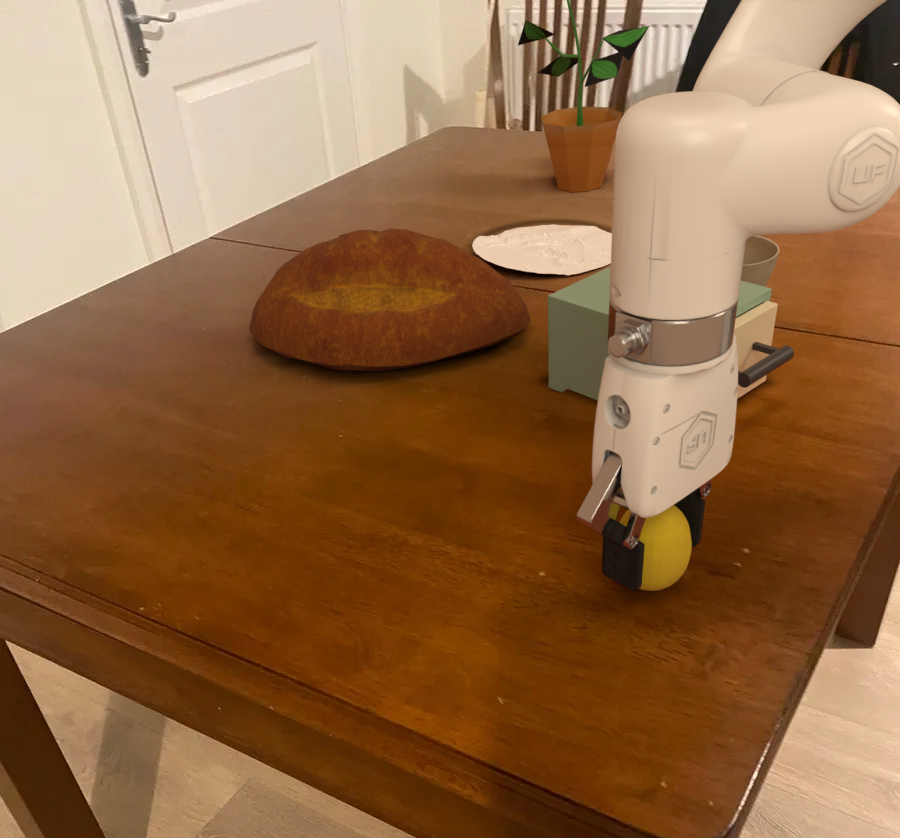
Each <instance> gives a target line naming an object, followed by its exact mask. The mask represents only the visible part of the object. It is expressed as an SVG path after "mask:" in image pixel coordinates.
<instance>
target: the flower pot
mask: <svg viewBox="0 0 900 838" xmlns="http://www.w3.org/2000/svg"><path fill="white" fill-rule="evenodd" d="M779 255H780V247H779V245H778V243H776V242H775V241H774V240H772V239H769V238H767V237H765V236H763V235H755V236H751V237H750V238H748V239H747V240H746V244H745V252H744V260H743V267H742V275H741V281H745V282H749V283H752V284H756V285H760V286H764V287H767V285H768V283H769V282H770V279H771V277H772V274H773V272H774V270H775V267H776V264H777V261H778V258H779Z"/></svg>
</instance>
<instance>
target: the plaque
mask: <svg viewBox="0 0 900 838" xmlns="http://www.w3.org/2000/svg"><path fill="white" fill-rule="evenodd" d="M611 240H612V232H609V231H606V230H604V229H601V228H599V227H597V226H595V225H580V224H579V225H577V224H576V225H570V224H569V225H568V224H567V225H566V224H555V223H553V224H541V225H533V226H523V227H515V228H512V229H511V228H510V229H507V230H503V232H501V233H498V234H495V235H494V234H491V235H487V236H486V235H478V236H477V237H476V238H474V239H473V241H472V249H473V251H474V253H475V254H476V255H478V256H479V257H480V259H481V258H482V260H485V261H487V262H489V263H492V264H494V265H496V266H499V267H503V268H505V269H509V270H510V269H511V270H516V271H521V272H525V273H535V274H540V275H541V274H543V275H549V274H550V275H558V276H559V275H564V276H568V277H569V276H571V275H578V274H582V273H585V272H590V271H592V270H596V269H599V268H603V267H605V266H608V265H611Z"/></svg>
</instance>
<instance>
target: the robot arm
mask: <svg viewBox="0 0 900 838" xmlns="http://www.w3.org/2000/svg"><path fill="white" fill-rule="evenodd" d="M887 1H888V0H740V1H739V4H738V5H737V7H736V9H735V11H734V13H733V14H732V15H731V17H730V19H729V20H728V23H727V24H726V26H725V28H724V30H723V31H722V33H721V34H720V36H719V38H718V40H717V41H716V43H715V45H714V47H713V49H712V50H711V52H710V54H709V56H708V57H707V59H706V61H705V63H704V65H703V67H702V69H701V71H700V73H699V74H698V77H697V78H696V81H695V84H694V86H693V89H692V90H691V91H676V92H668V93H662V94H657V95H654V96H650V97H647V98H645V99H642V100H640V101H638V102H636V103H634V104H633V105H631V106H630V107H629V108H627V109H626V111H625V112H624V114H622V116H621V119H620V123H619V125H618V129H617V133H616V137H615V141H614V160H613V161H614V163H613V165H614V166H613V186H612V187H613V189H612V190H613V191H612V216H611V234H612V240H611V263H610V267H611V268H610V298H609V323H608V352H609V356H608V357H607V358H606V360H605V365H604V369H603V374H602V379H601V384H600V390H599V396H598V400H597V403H596V404H597V405H596V409H595V418H594V425H593V435H592V437H593V439H592V450H591V452H592V453H591V482H592V485H591V487H590V489H589V490H588V492H587V495H586V496H585V498H584V500H583V502H582V503H581V505H580V507H579V509H578V510H577V513H576V520H577V522H580V523H581V524H583V525H585V526H586V527H588V528H589V529H591V530H593V531H594V532H596V533H597V534H598V535H601V536H602V553H601V573H602V574H603V576H605V577H607V578H608V579H610V580H612V581H615V582H616V583H618V584H619V585H622V586H623V587H625V588H627V589H628V590H630V591H634V592H636V591H638V590H639V589H638V588H640V587H641V585H642V574H643V561H644V548H645V546H644V545H645V544H644V543H643V542H641V541H639V538H640V535H641V532H642V529H643V526H644V522H645V519H646V518H650V517H653V516H656V515H658V514H660V513H662V512H663V511H665V510H666V509H668V508H669V507H671V506H673V505H675V506H676V507H677V508H678V509H679V510H680V511H681V512H682V513H683V514H684V516H685V518H686V519H687V522H688V524H689V528H690V533H691V541H692V548H695V547H697V546H698V545H699V544H700V543H701V541H702V540H701V539H702V534H703V533H702V532H703V525H704V518H705V517H704V516H705V509H706V500H705V498H707V496H709V495H710V493H711V491H712V487H713V484H712V483H713V482H712V479H713V478H715V477H716V476H717V475H719V473H721V472H722V471H723V470H725V468H726V467H727V466H728V464H729V462H730V461H731V458H732V454H733V447H734V439H735V431H736V421H737V408H738V407H737V406H738V399H737V391H738V355H737V344H736V336H735V334H734V327H735V319H736V312H737V304H738V297H739V290H740V283H741V275H742V267H743V260H744V252H745V244H746V240H747V239H748V238H750V237H751V236H755V235H758V236H766V235H767V236H770V235H771V236H773V235H815V234H825V233H832V232H837V231H841V230H844V229H846V228H850V227H853V226H854V225H857V224H860V223H861V222H863V221H865V220H866V219H869V218H870V217H871V216H874V214H876V213H877V212H878V211H879V210H880V209H882V208H883V207H884V206H885V205H886V204H887V203H888V202H889V201H890V200H891V199H892V198H893V197H894V196H895V194H896V192H897V191H898V190H899V189H900V103H899V102H898V101H897V100H896V99H895V98H894V97H893V96H892V95H890V94H888V93H887V92H885V91H883V90H882V89H880V88H878V87H876V86H874V85H871V84H869V83H866V82H863V81H860V80H855V79H852V78H848V77H843V76H840V75H836V74H830V73H829V72H828V71H823V70H821V68H822V67H823V65H824V64H825V62H826V61H827V59H828V58H829V57H830V55H831V54H832V52H834V50H835V49H836V48H837V47H838V46H839V44H840V43H841V42H842V41H843V39H845V37H847V36H848V34H849V33H850V32H851V31H853V29H854V28H855V27H856V26H857V25H858V24H859V23H860V22H861V21H862V20H864V19H865V18H866V17H867V16H868V15H869V14H871V13H872V12H874V10H875V9H877V8H878V7H880V6H881V5H883V4H884V3H886V2H887ZM620 507H621V508H624V509H626V510H630V511H631V514H630V518H629V521H628V524H627V527H626V526H624V525H623V524H621V523H619V522H620V521H617V518H618V514H619V511H620Z"/></svg>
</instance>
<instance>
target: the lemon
mask: <svg viewBox="0 0 900 838" xmlns="http://www.w3.org/2000/svg"><path fill="white" fill-rule="evenodd" d="M630 514H631V511H630V510H628V509H626V511H625V512H624V514H623V515H622V516H621V519H620V520H619V521H618V522H619V523H621V524H623V525H624V526H626V527H627V524H628V521H629V518H630ZM639 541H641V542H643V543H644V544H645V545H644V546H645V548H644V561H643V574H642V585H641V587H640V588H638V589H637V590H641V591H646V592H657V591H662V590H664V589H667V588H669V587H671V586H672V585H674V584H675V583H676V582H678V581H679V580H680V579H681V578H682V576H683V575H684V574H685V572H686V571H687V568H688V565H689V562H690V558H691V555H692V549H693V547H692V541H691V533H690V528H689V524H688V522H687V519H686V518H685V516H684V514H683V513H682V512H681V511H680V510H679V509H678V508H677V507H676V506H675V505H673V506H671V507H669V508H668V509H666V510H665V511H663V512H662V513H660V514H658V515H656V516H653V517H650V518H646V519H645V522H644V526H643V529H642V532H641V535H640V538H639Z"/></svg>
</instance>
